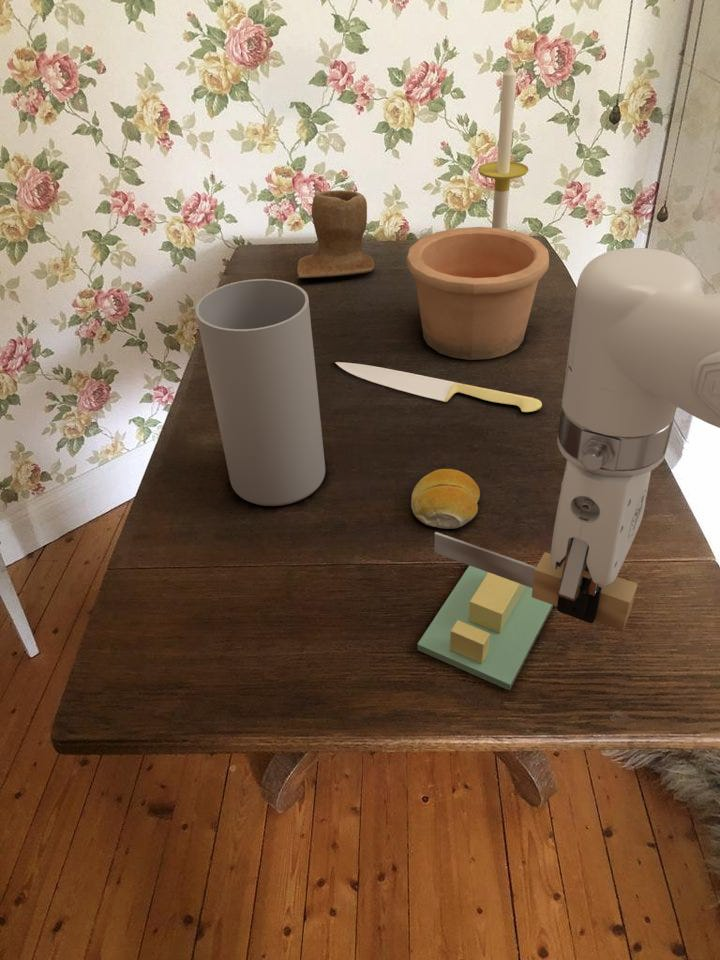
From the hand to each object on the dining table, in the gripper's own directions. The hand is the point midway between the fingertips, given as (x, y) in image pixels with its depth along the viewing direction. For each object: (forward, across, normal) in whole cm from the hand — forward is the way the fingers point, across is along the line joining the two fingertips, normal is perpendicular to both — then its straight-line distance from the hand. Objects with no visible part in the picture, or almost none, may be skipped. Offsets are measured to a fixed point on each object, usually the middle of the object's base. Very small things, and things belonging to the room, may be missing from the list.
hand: (581, 601), depth 65 cm
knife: (+11, +41, +35) cm, 55 cm away
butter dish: (+12, +4, +10) cm, 16 cm away
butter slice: (+11, -2, +10) cm, 15 cm away
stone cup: (+11, +71, +71) cm, 101 cm away
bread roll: (+12, +18, +22) cm, 30 cm away
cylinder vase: (+11, +13, +44) cm, 47 cm away
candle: (+11, +80, +41) cm, 91 cm away
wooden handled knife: (0, 0, +5) cm, 5 cm away
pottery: (+11, +59, +36) cm, 70 cm away
